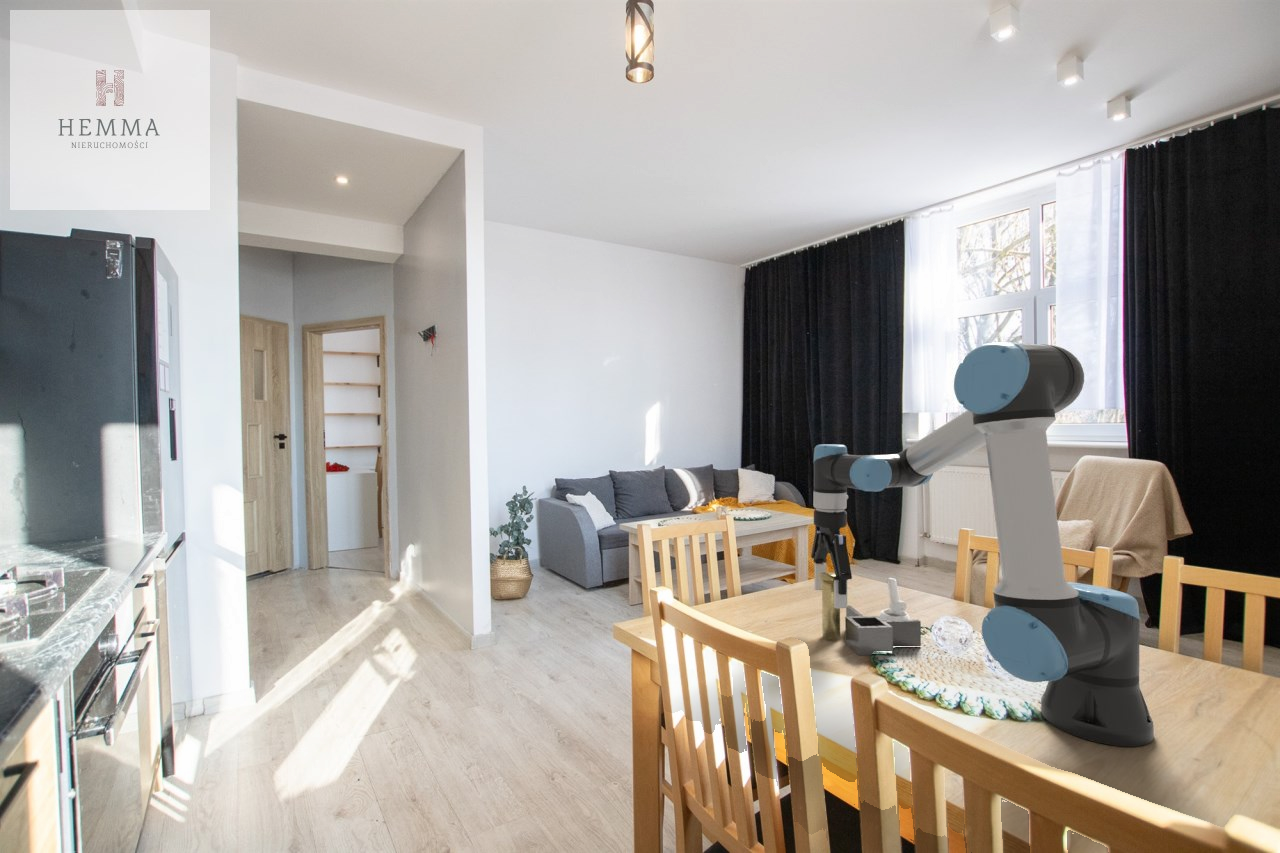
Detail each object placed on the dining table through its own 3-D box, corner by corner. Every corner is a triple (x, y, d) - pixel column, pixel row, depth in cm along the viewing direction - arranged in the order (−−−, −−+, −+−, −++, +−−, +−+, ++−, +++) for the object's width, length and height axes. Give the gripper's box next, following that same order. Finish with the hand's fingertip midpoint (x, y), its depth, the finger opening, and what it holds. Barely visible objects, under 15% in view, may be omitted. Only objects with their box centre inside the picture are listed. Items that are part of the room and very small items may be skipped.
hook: (892, 588, 164) (908, 579, 158) (901, 633, 157) (918, 625, 151) (868, 584, 162) (883, 575, 157) (876, 629, 155) (892, 621, 150)
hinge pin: (845, 641, 140) (844, 577, 140) (824, 641, 139) (824, 577, 139) (837, 633, 144) (837, 571, 144) (817, 634, 144) (817, 572, 144)
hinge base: (928, 653, 132) (928, 626, 132) (858, 655, 131) (858, 628, 131) (895, 628, 147) (895, 604, 147) (833, 630, 147) (832, 605, 147)
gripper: (867, 518, 129) (867, 615, 130) (827, 501, 154) (827, 582, 155) (833, 519, 129) (833, 616, 130) (798, 501, 154) (798, 583, 154)
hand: (830, 598), depth 142 cm, fingers open, 13 cm apart
